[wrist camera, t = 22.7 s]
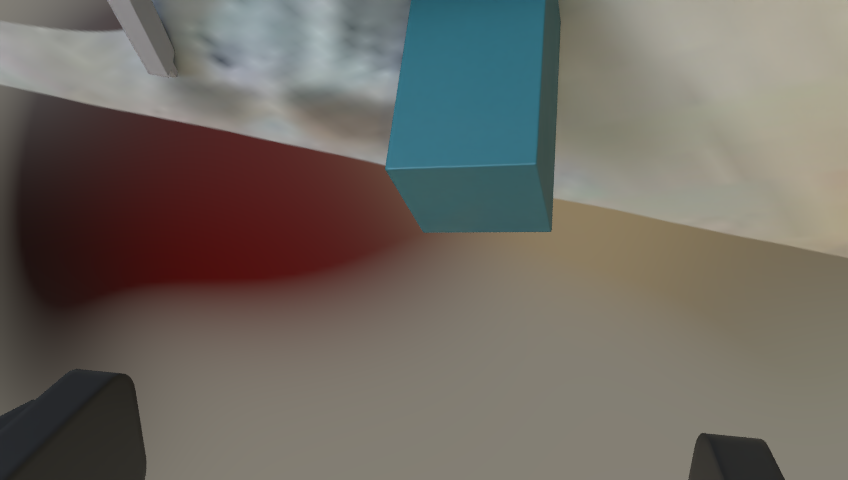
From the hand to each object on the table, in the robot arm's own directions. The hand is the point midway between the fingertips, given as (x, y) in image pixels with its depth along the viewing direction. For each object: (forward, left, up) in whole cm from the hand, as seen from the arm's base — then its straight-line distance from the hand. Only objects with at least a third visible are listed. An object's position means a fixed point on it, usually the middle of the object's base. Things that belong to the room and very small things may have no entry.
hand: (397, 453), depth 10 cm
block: (+2, +11, -20) cm, 23 cm away
